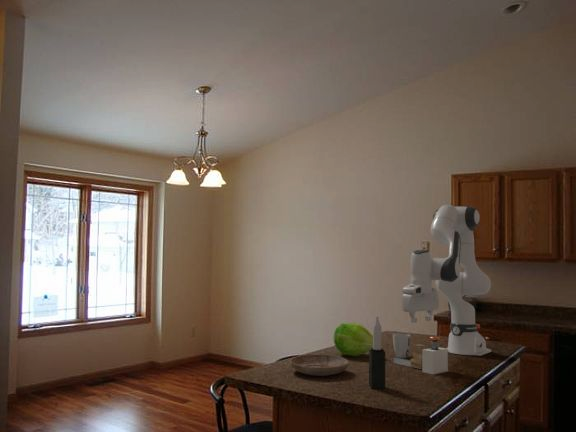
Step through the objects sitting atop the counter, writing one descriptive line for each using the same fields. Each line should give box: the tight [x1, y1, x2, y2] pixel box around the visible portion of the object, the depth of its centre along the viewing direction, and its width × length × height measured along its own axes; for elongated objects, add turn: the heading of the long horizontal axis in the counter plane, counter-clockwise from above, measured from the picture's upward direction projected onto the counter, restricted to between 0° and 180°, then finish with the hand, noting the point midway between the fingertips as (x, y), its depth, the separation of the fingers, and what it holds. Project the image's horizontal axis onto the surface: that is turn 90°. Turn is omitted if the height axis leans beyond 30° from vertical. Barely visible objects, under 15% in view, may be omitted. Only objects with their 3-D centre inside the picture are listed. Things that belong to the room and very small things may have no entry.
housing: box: [421, 346, 449, 375], centre depth 210 cm, size 10×5×9 cm, turn 128°
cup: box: [392, 333, 411, 359], centre depth 240 cm, size 8×8×10 cm
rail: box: [392, 357, 420, 370], centre depth 219 cm, size 2×18×2 cm, turn 38°
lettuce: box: [333, 322, 373, 357], centre depth 241 cm, size 17×20×15 cm
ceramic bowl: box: [289, 354, 350, 377], centre depth 206 cm, size 23×24×5 cm
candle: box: [368, 316, 386, 390], centre depth 185 cm, size 5×5×25 cm
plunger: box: [429, 336, 441, 350], centre depth 211 cm, size 4×4×6 cm
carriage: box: [410, 343, 426, 370], centre depth 216 cm, size 5×5×9 cm
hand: (421, 321), depth 216 cm, fingers open, 8 cm apart
